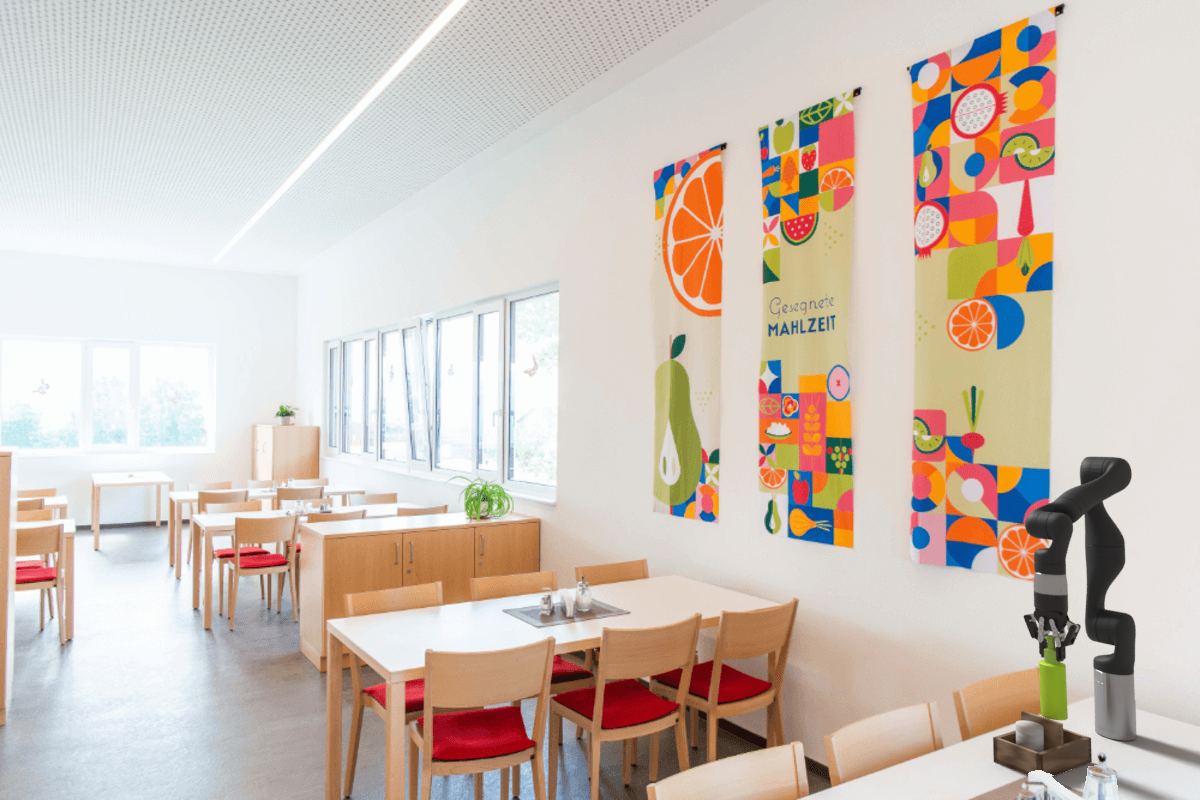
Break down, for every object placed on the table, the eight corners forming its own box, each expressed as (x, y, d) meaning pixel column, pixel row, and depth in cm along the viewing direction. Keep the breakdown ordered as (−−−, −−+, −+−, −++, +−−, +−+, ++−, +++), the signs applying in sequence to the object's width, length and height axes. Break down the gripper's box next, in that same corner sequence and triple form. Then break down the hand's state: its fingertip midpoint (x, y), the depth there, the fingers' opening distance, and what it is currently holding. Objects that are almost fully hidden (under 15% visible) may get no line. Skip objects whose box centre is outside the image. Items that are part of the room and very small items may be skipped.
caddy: (993, 761, 191) (992, 716, 192) (1044, 745, 201) (1043, 702, 202) (1040, 780, 181) (1039, 733, 181) (1091, 762, 191) (1090, 717, 191)
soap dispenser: (1076, 721, 190) (1073, 639, 191) (1046, 719, 191) (1043, 638, 192) (1066, 712, 196) (1063, 633, 197) (1037, 711, 197) (1034, 632, 198)
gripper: (1087, 594, 191) (1089, 664, 190) (1032, 584, 203) (1034, 650, 203) (1070, 597, 187) (1072, 669, 187) (1015, 587, 200) (1016, 654, 199)
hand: (1052, 658), depth 195 cm, fingers closed on soap dispenser, 3 cm apart
